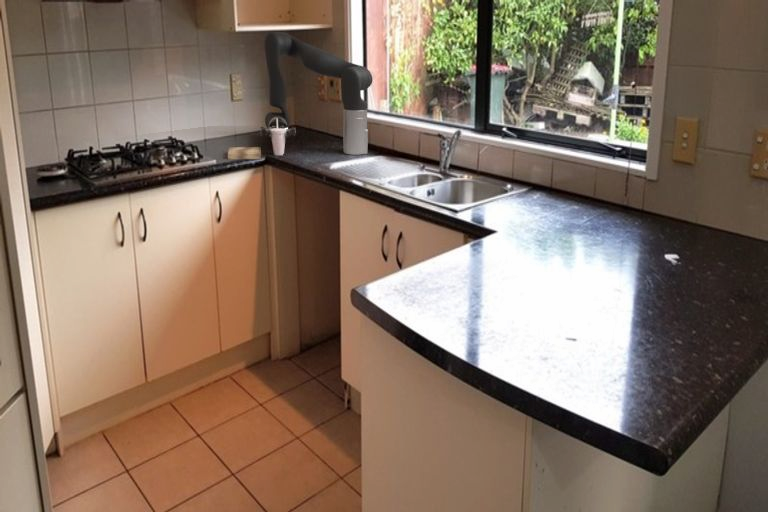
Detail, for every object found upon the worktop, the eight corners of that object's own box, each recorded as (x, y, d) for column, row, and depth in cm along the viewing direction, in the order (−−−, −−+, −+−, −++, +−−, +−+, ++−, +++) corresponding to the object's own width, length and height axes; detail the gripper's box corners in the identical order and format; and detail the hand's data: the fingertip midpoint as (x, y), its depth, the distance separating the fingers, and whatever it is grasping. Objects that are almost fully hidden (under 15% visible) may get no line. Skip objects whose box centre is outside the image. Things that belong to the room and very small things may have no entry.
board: (260, 152, 279) (260, 146, 279) (260, 158, 268) (260, 153, 268) (229, 152, 278) (229, 146, 277) (228, 159, 266) (227, 153, 266)
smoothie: (267, 154, 275) (266, 118, 271) (277, 152, 281) (276, 116, 276) (280, 156, 273) (279, 120, 268) (290, 153, 278) (289, 117, 273)
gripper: (259, 118, 285) (259, 125, 269) (295, 118, 287) (297, 125, 272) (260, 136, 287) (259, 144, 272) (296, 136, 290) (297, 144, 274)
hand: (278, 134), depth 272 cm, fingers closed on smoothie, 6 cm apart
